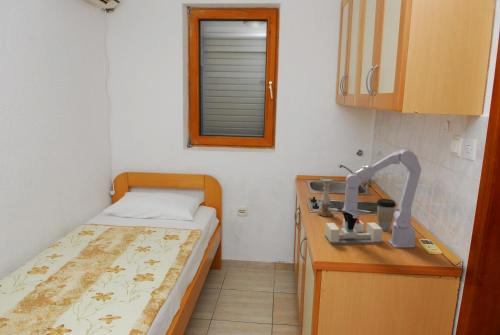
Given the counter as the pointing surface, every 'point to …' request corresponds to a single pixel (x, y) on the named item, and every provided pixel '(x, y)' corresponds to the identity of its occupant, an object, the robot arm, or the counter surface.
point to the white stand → (370, 237)
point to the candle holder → (325, 198)
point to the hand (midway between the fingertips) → (349, 228)
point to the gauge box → (356, 226)
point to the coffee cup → (385, 213)
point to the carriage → (348, 232)
